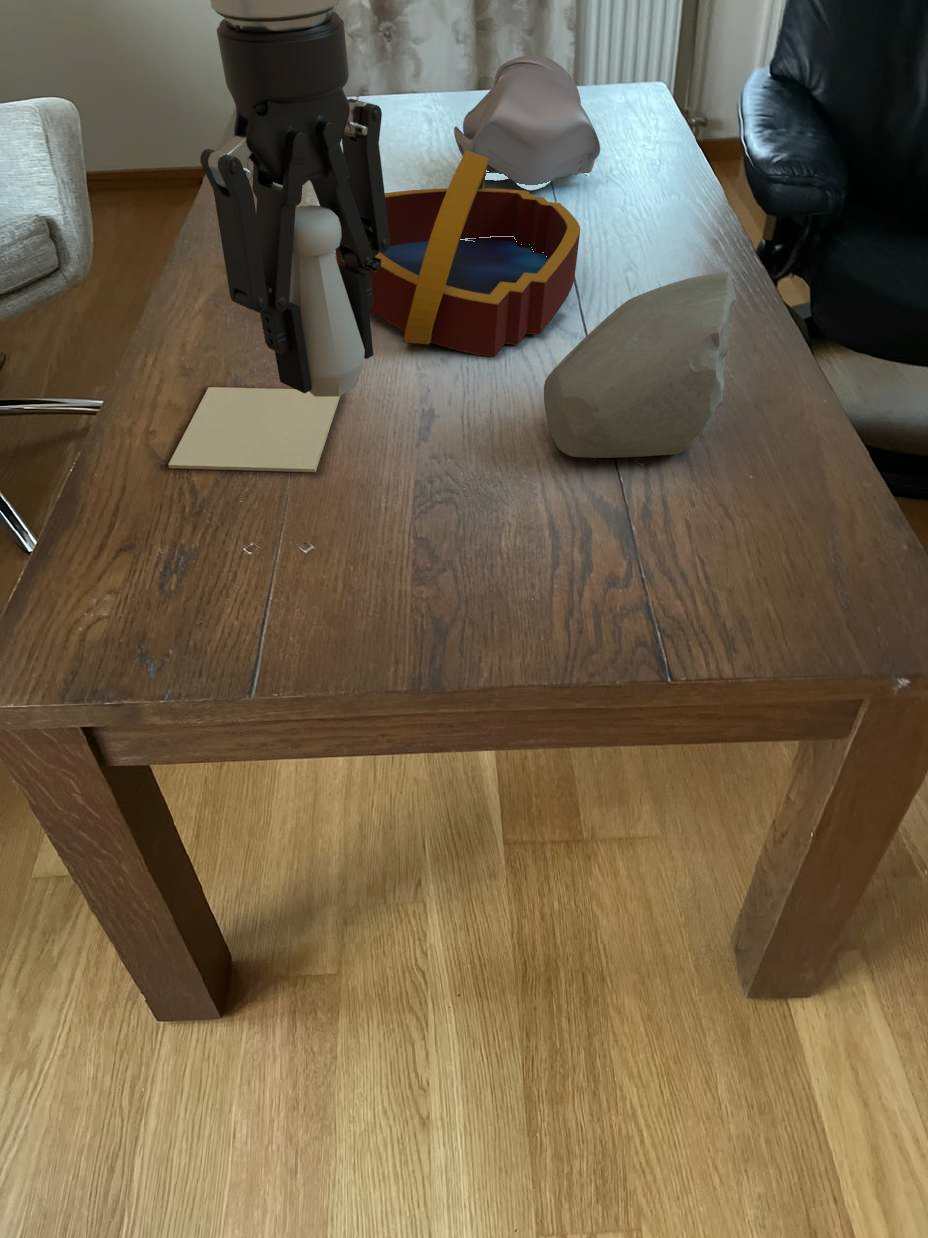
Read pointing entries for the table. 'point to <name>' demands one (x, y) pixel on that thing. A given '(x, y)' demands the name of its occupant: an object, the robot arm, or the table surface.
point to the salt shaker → (324, 303)
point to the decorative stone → (644, 373)
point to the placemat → (256, 430)
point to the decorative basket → (473, 263)
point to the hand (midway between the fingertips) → (327, 367)
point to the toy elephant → (531, 124)
